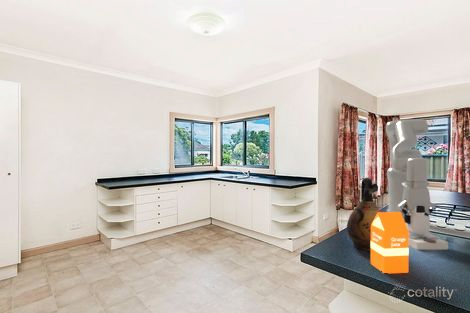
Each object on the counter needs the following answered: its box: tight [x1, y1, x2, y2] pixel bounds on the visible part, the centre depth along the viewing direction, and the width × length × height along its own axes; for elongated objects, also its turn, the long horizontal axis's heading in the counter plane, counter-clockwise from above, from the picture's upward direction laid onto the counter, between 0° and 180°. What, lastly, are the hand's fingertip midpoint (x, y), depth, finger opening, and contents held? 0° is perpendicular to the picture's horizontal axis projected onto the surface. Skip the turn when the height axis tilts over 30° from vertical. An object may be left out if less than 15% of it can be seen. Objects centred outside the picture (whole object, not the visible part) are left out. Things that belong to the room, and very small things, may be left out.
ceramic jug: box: [346, 177, 381, 252], centre depth 108 cm, size 17×15×30 cm
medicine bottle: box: [405, 206, 431, 233], centre depth 113 cm, size 7×7×12 cm
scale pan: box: [409, 230, 439, 239], centre depth 113 cm, size 11×11×1 cm
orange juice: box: [370, 211, 410, 274], centre depth 88 cm, size 8×9×20 cm
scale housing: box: [409, 237, 449, 251], centre depth 112 cm, size 17×13×4 cm
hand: (416, 222), depth 114 cm, fingers closed on medicine bottle, 7 cm apart
